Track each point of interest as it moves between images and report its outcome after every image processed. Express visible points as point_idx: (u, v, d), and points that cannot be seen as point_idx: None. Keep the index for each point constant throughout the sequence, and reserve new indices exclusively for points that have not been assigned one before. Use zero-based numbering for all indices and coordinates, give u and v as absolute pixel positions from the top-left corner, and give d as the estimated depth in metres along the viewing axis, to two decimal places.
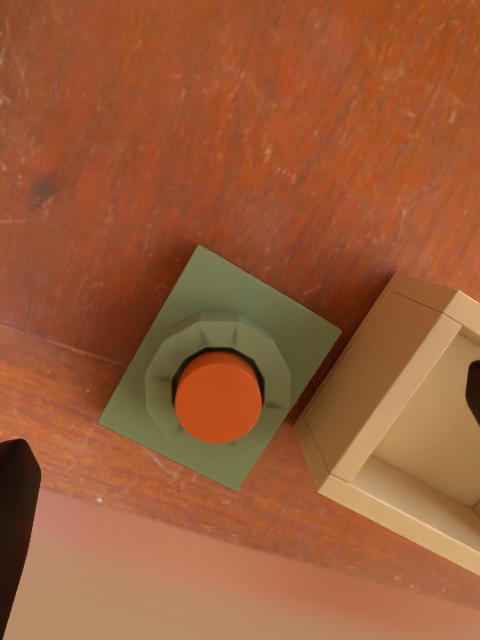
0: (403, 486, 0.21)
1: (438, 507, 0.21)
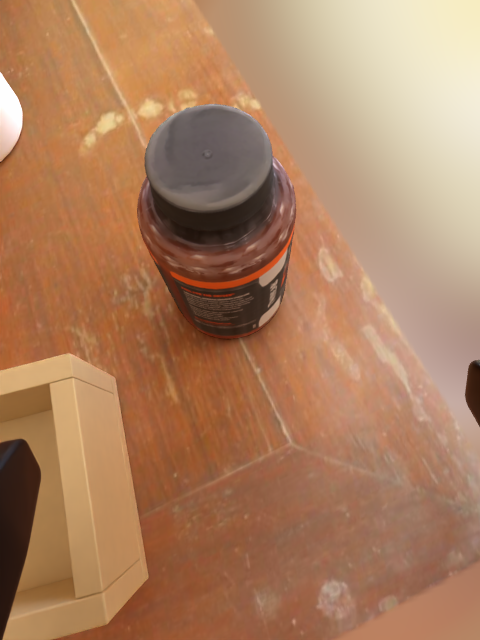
0: None
1: None
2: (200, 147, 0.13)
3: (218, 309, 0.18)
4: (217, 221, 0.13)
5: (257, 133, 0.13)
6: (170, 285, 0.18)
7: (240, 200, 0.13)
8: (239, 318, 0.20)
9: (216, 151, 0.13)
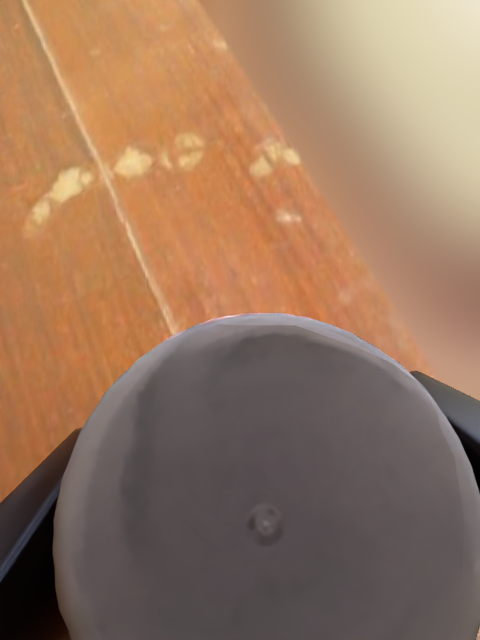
0: None
1: None
2: (241, 494, 0.04)
3: None
4: None
5: (430, 441, 0.04)
6: None
7: None
8: None
9: (294, 512, 0.04)
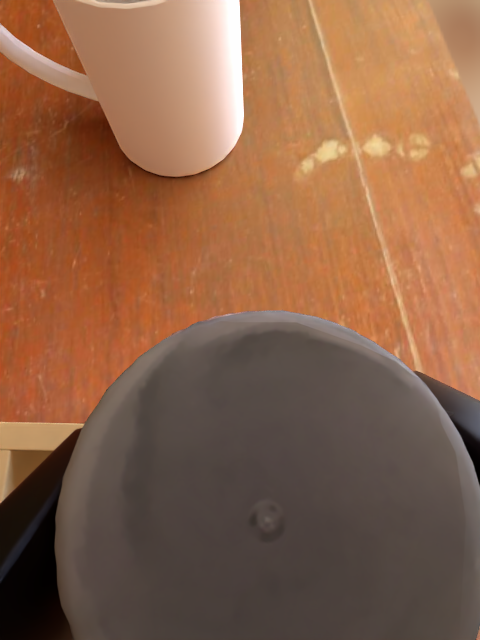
0: None
1: None
2: (243, 490, 0.04)
3: None
4: None
5: (431, 437, 0.04)
6: None
7: None
8: None
9: (297, 509, 0.04)
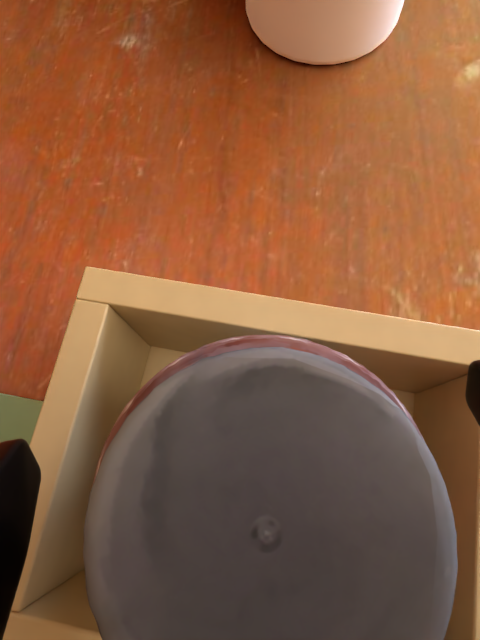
0: None
1: None
2: (245, 507, 0.05)
3: None
4: None
5: (409, 461, 0.05)
6: None
7: None
8: None
9: (292, 523, 0.05)
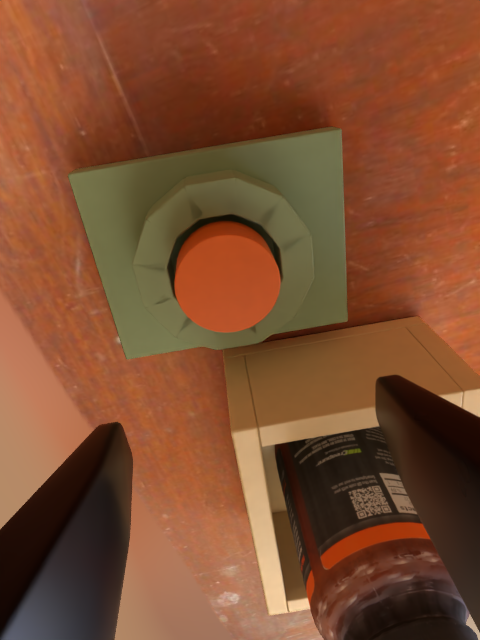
0: None
1: None
2: None
3: (294, 542, 0.18)
4: None
5: None
6: (306, 515, 0.17)
7: None
8: None
9: None
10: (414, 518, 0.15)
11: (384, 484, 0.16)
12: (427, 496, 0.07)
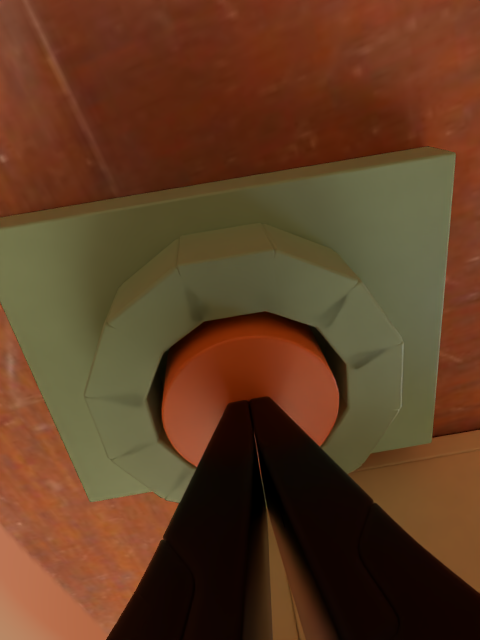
0: None
1: None
2: None
3: None
4: None
5: None
6: None
7: None
8: None
9: None
10: None
11: None
12: (275, 523, 0.07)
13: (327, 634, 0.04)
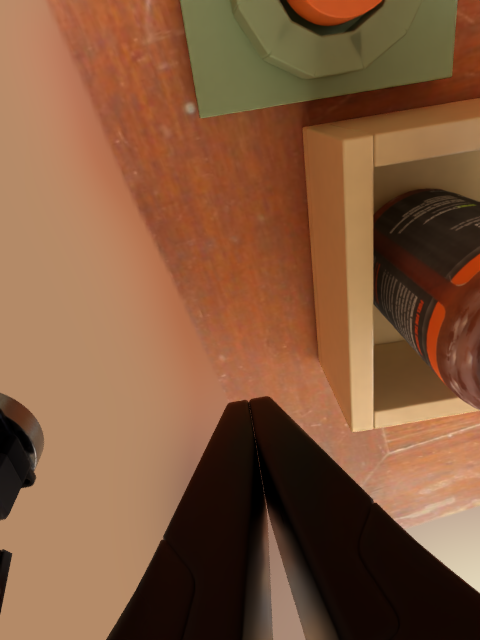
0: None
1: None
2: None
3: (396, 316, 0.16)
4: None
5: None
6: (419, 264, 0.15)
7: None
8: (386, 316, 0.18)
9: None
10: None
11: None
12: (275, 523, 0.07)
13: (327, 634, 0.04)
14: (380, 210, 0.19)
